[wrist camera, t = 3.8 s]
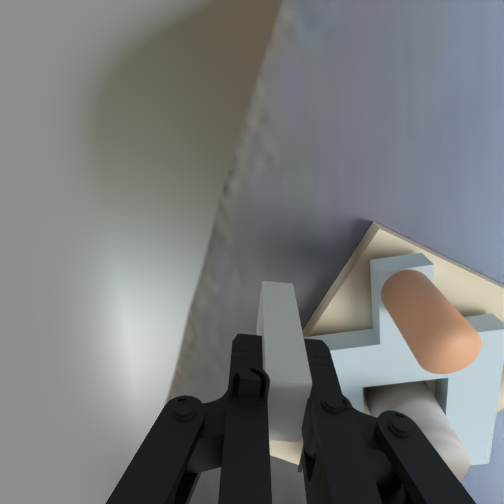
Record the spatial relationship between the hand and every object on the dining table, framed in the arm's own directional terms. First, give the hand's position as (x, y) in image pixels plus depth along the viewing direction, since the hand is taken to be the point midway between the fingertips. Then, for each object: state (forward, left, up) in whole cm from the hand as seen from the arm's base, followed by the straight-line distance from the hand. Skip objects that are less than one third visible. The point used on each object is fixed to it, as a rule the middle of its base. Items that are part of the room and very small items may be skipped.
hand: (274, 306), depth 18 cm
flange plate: (+3, +11, -4) cm, 12 cm away
